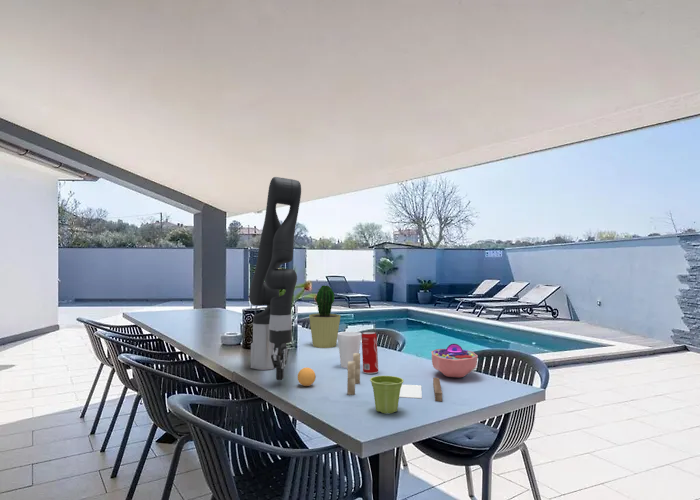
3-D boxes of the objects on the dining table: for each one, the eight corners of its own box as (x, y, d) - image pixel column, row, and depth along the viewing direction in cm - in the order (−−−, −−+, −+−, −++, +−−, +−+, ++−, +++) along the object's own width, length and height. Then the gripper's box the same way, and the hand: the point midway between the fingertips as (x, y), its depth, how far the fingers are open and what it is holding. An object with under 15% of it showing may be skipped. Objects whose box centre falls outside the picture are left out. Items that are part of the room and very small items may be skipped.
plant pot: (367, 405, 134) (368, 375, 134) (399, 404, 135) (400, 375, 135) (372, 416, 125) (372, 384, 125) (406, 415, 126) (406, 383, 126)
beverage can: (377, 375, 169) (377, 334, 169) (359, 373, 170) (360, 333, 171) (379, 371, 175) (379, 331, 175) (362, 370, 176) (363, 330, 176)
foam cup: (343, 370, 176) (344, 336, 176) (333, 365, 184) (333, 332, 184) (365, 367, 180) (365, 334, 180) (354, 362, 188) (354, 331, 188)
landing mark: (376, 395, 143) (376, 395, 143) (379, 383, 157) (379, 383, 157) (421, 398, 141) (421, 397, 141) (421, 386, 155) (421, 385, 155)
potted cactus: (304, 348, 218) (305, 284, 218) (312, 342, 233) (313, 283, 233) (336, 349, 215) (337, 285, 216) (342, 343, 230) (343, 283, 231)
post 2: (352, 383, 157) (352, 354, 157) (353, 381, 159) (353, 352, 159) (359, 384, 156) (359, 354, 157) (360, 382, 159) (360, 353, 159)
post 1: (346, 394, 144) (347, 362, 144) (347, 392, 146) (348, 361, 146) (354, 395, 144) (354, 363, 144) (355, 393, 146) (355, 361, 146)
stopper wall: (435, 401, 139) (435, 392, 139) (433, 385, 156) (433, 377, 157) (442, 401, 138) (442, 393, 138) (439, 385, 156) (439, 377, 156)
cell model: (425, 380, 163) (425, 348, 163) (436, 367, 182) (436, 339, 182) (474, 385, 157) (474, 352, 157) (480, 372, 175) (480, 342, 176)
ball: (295, 387, 151) (295, 369, 151) (299, 382, 157) (300, 365, 157) (313, 388, 150) (313, 370, 150) (317, 383, 156) (317, 366, 156)
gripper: (275, 324, 162) (275, 374, 162) (263, 330, 149) (262, 384, 149) (296, 325, 161) (295, 375, 161) (285, 331, 148) (285, 385, 148)
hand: (279, 379), depth 155 cm, fingers closed
